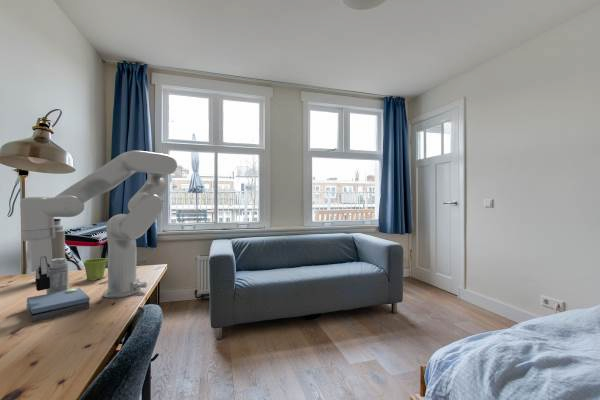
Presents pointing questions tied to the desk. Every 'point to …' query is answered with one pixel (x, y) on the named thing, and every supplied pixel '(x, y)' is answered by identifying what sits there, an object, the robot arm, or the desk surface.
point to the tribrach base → (56, 311)
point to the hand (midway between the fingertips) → (43, 289)
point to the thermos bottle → (58, 241)
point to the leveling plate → (57, 300)
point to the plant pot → (95, 268)
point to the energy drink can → (58, 275)
